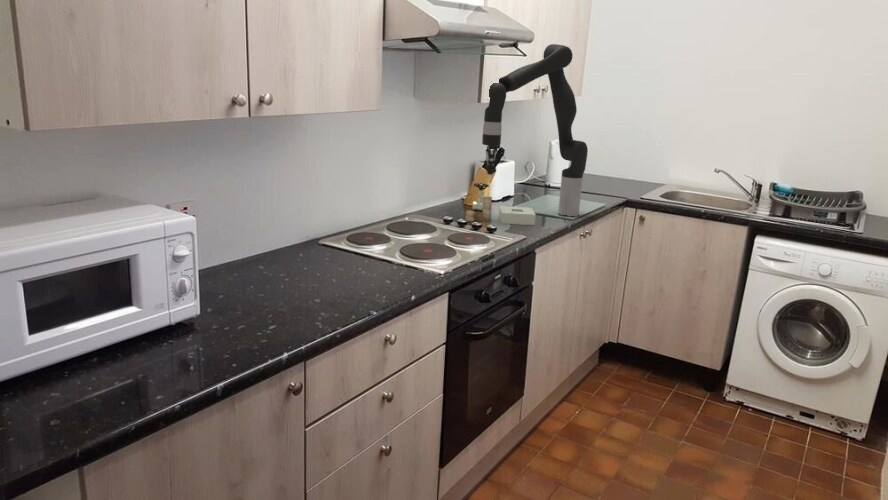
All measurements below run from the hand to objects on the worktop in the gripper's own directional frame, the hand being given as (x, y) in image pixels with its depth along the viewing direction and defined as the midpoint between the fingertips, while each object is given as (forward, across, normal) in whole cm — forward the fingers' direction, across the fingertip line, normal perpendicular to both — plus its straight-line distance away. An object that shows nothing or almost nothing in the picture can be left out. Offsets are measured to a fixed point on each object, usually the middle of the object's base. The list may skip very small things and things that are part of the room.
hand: (489, 172), depth 269 cm
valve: (+20, +20, +2) cm, 29 cm away
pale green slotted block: (+20, +2, -13) cm, 24 cm away
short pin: (+20, -2, +7) cm, 21 cm away
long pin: (+20, 0, 0) cm, 20 cm away
